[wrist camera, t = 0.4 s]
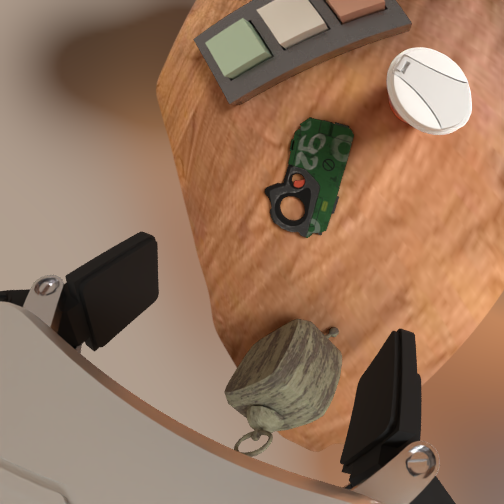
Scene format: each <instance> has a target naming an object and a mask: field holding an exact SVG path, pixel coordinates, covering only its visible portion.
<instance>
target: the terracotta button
mask: <svg viewBox="0 0 504 504" xmlns="http://www.w3.org/2000/svg"><path fill="white" fill-rule="evenodd" d="M325 1H326V3H327V4H328V5H329V6H330V8H331V9H332V10H333V12H334V13H335V14H336V16H337V17H338V19H339V20H340V21H341V23H342V24H345V23H348V22H351V21H353V20H356V19H359V18H362V17H365V16H368V15H371V14H374V13H377V12H380V11H384V10H385V1H384V0H325Z"/></svg>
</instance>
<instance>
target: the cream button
mask: <svg viewBox="0 0 504 504" xmlns="http://www.w3.org/2000/svg"><path fill="white" fill-rule="evenodd" d="M257 12H258V13H259V14H260V16H261V17H262V19H263V20H264V21H265V23H266V24H267V26H268V27H269V29H270V30H271V32H272V33H273V35H274V36H275V38H276V39H277V41H278V42H279V44H280V45H281V46H283V47H284V48H285V49H286V50H287V49H289V48H291V47H293V46H295V45H297V44H299V43H301V42H303V41H305V40H307V39H310V38H312V37H314V36H316V35H319V34H321V33H323V32H326V31H328V28H327V26H326V24H325V22H324V21H323V19H322V18H321V17H320V15H319V14H318V12H317V11H316V10H315V8H314V7H313V6H312V4H311V3H310V2H309V1H308V0H274V1H272V2H270V3H268V4H267V5H265V6H263V7H261V8H259V9H257Z"/></svg>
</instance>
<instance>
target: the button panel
mask: <svg viewBox="0 0 504 504" xmlns="http://www.w3.org/2000/svg"><path fill="white" fill-rule="evenodd" d="M272 1H274V0H253V1H251V2H249V3H247V4H246V5H244V6H242V7H241V8H239V9H237V10H236V11H234V12H232V13H231V14H229V15H228V16H226V17H225V18H223V19H222V20H220V21H219V22H217V23H216V24H214V25H213V26H211V27H210V28H208V29H207V30H206V31H204V32H203V33H201V34H200V35H199V36H197V37H196V38H195V39H194V41H195V43H196V45H197V46H198V48H199V50H200V52H201V53H202V55H203V57H204V59H205V60H206V62H207V64H208V66H209V68H210V69H211V71H212V73H213V75H214V77H215V78H216V80H217V82H218V84H219V86H220V88H221V89H222V91H223V93H224V95H225V97H226V99H227V101H228V102H229V104H234V105H240V104H242V103H244V102H245V101H247V100H249V99H250V98H252V97H254V96H256V95H258V94H259V93H261V92H263V91H265V90H267V89H269V88H270V87H272V86H274V85H276V84H278V83H280V82H282V81H284V80H286V79H288V78H290V77H292V76H294V75H296V74H298V73H300V72H302V71H304V70H306V69H308V68H311V67H313V66H315V65H317V64H319V63H322V62H324V61H326V60H328V59H331V58H333V57H336V56H338V55H340V54H343V53H345V52H348V51H350V50H353V49H356V48H358V47H361V46H364V45H366V44H369V43H372V42H375V41H378V40H381V39H384V38H387V37H390V36H393V35H397V34H400V33H403V32H407V31H409V30H410V27H411V24H412V23H411V21H410V20H409V18H408V17H407V15H406V14H405V13H404V11H403V10H402V8H401V7H400V6H399V4H398V3H397V2H396V0H384V1H385V10H384V11H380V12H377V13H374V14H371V15H368V16H365V17H362V18H359V19H356V20H353V21H351V22H348V23H345V24H342V23H341V21H340V20H339V19H338V17H337V16H336V14H335V13H334V12H333V10H332V9H331V8H330V6H329V5H328V4H327V3H326V1H325V0H308V1H309V2H310V3H311V4H312V6H313V7H314V8H315V10H316V11H317V12H318V14H319V15H320V17H321V18H322V19H323V21H324V22H325V24H326V26H327V28H328V31H326V32H323V33H321V34H319V35H316V36H314V37H312V38H310V39H307V40H305V41H303V42H301V43H299V44H297V45H295V46H293V47H291V48H289V49H287V50H286V49H285V48H284V47H283V46H281V45H280V44H279V42H278V41H277V39H276V38H275V36H274V35H273V33H272V32H271V30H270V29H269V27H268V26H267V24H266V23H265V21H264V20H263V19H262V17H261V16H260V14H259V13H258V12H257V9H259V8H261V7H263V6H265V5H267V4H268V3H270V2H272ZM242 18H244V19H245V20H247V21H248V22H250V23H251V24H252V25H253V26H254V27H255V29H256V30H257V32H258V34H259V35H260V37H261V38H262V40H263V41H264V43H265V44H266V46H267V47H268V49H269V51H270V52H271V54H272V56H273V57H272V58H270V59H268V60H266V61H264V62H262V63H261V64H259V65H257V66H255V67H254V68H252V69H250V70H248V71H247V72H245V73H243V74H242V75H240V76H239V77H237V78H235V79H232V78H229V77H225V76H224V75H223V73H222V71H221V70H220V68H219V66H218V64H217V63H216V61H215V59H214V57H213V56H212V54H211V52H210V50H209V49H208V47H207V45H206V44H205V42H207V41H208V40H210V39H211V38H213V37H214V36H215V35H217V34H218V33H220V32H221V31H223V30H224V29H226V28H228V27H229V26H231V25H232V24H234V23H235V22H237V21H239V20H240V19H242Z"/></svg>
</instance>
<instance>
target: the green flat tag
mask: <svg viewBox="0 0 504 504" xmlns="http://www.w3.org/2000/svg"><path fill="white" fill-rule="evenodd" d="M300 125H301V127H300V128H301V129H298V130H297V131H296V132H295V135H294V139H292V141H291V146H290V151H291V154H290V158H289V162H288V164H289V165H288V168H287V172H286V175H285V179H284V182H283V183H281V184H280V183H277V184H274V185H271V186H269V187H267V188H266V189H265V194H266V195H267V196H268V198H269V200H270V202H271V207H272V208H271V210H270V214H271V218H272V220H273V222H274V223H275V224H277V225H279V226H280V227H281V228H283V229H285V230H287V231H290V232H299V233H300V235H301V236H303V237H306V238H308V237H310V236H311V235H312V233H318V234H319V235H322V232H324V231H326V229H327V226H328V223H329V220H330V217H331V214H334V211H335V208H336V205H337V202H338V198H339V197H338V196H337V194H338V191H339V186H340V183H341V180H342V176H343V173H344V170H345V167H346V163H347V159H348V156H349V152H350V148H351V145H352V143H351V142H352V141H353V137H354V134H353V132H352V130H351V129H349V126H346V125H343V124H339V123H336V122H335V124H333V123H332V122H328V121H325V120H323V121H322V120H318V119H314V118H313V119H312V118H309V119H307V120H306V121H304V122H303V123H301V124H300ZM294 141H295V142H294ZM293 144H294V147H293ZM296 173H298V174H301V175H302V176H303V177H304V179H303V180H300V181H298V180H296V181H294V184H293V182H292V176H293V175H294V174H296ZM287 196H294V197H297V198H299V199H300V200H301V201H302V202H303V204H304V207H305V214H304V216H303V217H302V218H301V219H299V220H295V221H293V220H289V219H287V218H286V217H284V216H283V214H282V212H281V209H280V204H281V201H282V199H283V198H285V197H287Z"/></svg>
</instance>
